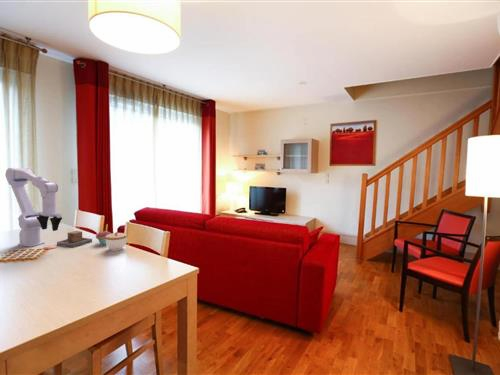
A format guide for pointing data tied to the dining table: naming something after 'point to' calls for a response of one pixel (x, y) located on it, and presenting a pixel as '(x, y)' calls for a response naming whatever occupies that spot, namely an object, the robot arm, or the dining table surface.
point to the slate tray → (65, 243)
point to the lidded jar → (116, 241)
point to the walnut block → (74, 237)
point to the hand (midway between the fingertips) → (49, 229)
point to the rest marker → (50, 247)
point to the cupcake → (102, 236)
